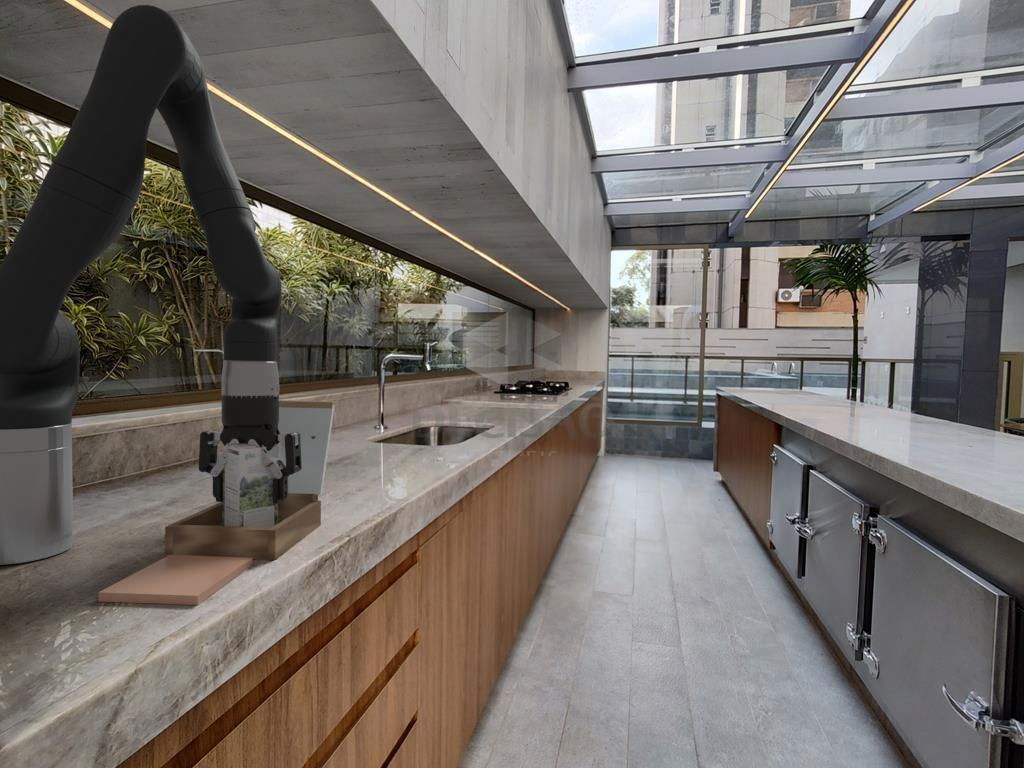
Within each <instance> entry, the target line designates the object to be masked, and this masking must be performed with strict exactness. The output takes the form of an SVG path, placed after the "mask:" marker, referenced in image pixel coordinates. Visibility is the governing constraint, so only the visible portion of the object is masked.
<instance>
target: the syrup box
mask: <svg viewBox="0 0 1024 768" xmlns="http://www.w3.org/2000/svg"><path fill="white" fill-rule="evenodd" d="M222 444H223V443H222ZM226 444H227V445H226V446H224V444H223V445H222V453H223V452H224V451H225V449H226V448H227V447H228V444H229V443H226ZM230 445H231V446H230V447H229V448H228V461H227V463H226V465H225V467H224V470H223V504H222V526H234V527H265V528H272V527H274V526H275V525H277V524H278V504H273V479H275V476H274V475H273V474H272V472H271V471H270V470H269V468H267V467H265V466H264V464H263V463H262V462H261V460H260V459H261V448H260V447H258V448H257V447H256V446H250V445H248V444H247V443H241V444H230ZM262 446H263V445H262ZM262 448H263V449H265V450H266V447H264V446H263V447H262ZM266 452H267V453H268V454H269V456H270V457H272V458H273V457H277V458H279V445H278V444H275V445H274V446H273V448H272V449H271V450H270V451H267V450H266ZM276 463H277V464H278V466H279V461H277V462H276Z"/></svg>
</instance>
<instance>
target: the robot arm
mask: <svg viewBox="0 0 1024 768" xmlns="http://www.w3.org/2000/svg"><path fill="white" fill-rule="evenodd" d="M99 57H100V58H99V60H98V62H97V66H96V69H95V73H94V75H93V78H92V80H91V83H90V86H89V89H88V91H87V94H86V95H85V98H84V100H83V102H82V104H81V106H80V107H79V109H78V112H77V114H76V116H75V118H74V120H73V122H72V124H71V127H69V130H68V133H67V135H66V137H65V139H64V141H63V143H62V145H61V147H60V148H59V150H58V152H57V153H56V155H55V157H54V158H53V160H52V163H51V164H50V166H49V169H48V170H47V173H46V174H45V176H44V178H43V180H42V182H41V184H40V185H39V186H40V187H39V190H38V191H37V194H36V196H35V199H34V201H33V203H32V205H31V207H30V209H29V210H28V212H27V214H26V217H25V218H24V220H23V221H22V223H21V225H20V226H19V230H18V231H17V233H16V235H15V237H14V239H13V242H12V244H11V246H10V247H9V250H8V252H7V254H6V256H5V257H4V259H3V260H2V261H1V264H0V565H1V566H3V565H6V566H7V565H15V564H23V563H28V562H33V561H37V560H38V561H39V560H42V559H46V558H50V557H53V556H55V555H58V554H61V553H64V552H66V551H68V550H69V549H71V548H72V547H73V544H74V534H73V533H74V529H73V528H74V525H73V524H74V520H73V519H74V508H73V507H74V503H73V502H74V500H73V499H74V496H73V492H74V491H73V490H74V489H73V486H74V485H73V484H74V483H73V425H72V421H73V418H72V417H73V410H74V409H75V408H74V407H75V406H76V403H77V401H78V396H79V387H80V385H79V384H80V367H81V366H80V365H81V363H80V362H81V351H80V349H81V348H80V347H81V346H80V338H79V335H78V331H77V329H76V326H75V325H74V324H73V322H72V321H71V320H70V319H69V318H68V317H67V316H66V315H64V314H63V313H61V312H60V310H61V308H62V306H63V303H64V301H65V299H66V297H67V295H68V293H69V291H70V289H71V287H72V286H73V284H74V283H75V281H76V280H77V278H78V277H79V276H80V275H81V274H82V273H83V272H84V271H85V270H86V269H87V268H88V267H89V266H90V265H91V264H92V263H94V261H96V259H98V258H99V257H101V255H102V254H103V253H104V252H106V251H107V249H108V248H109V247H110V246H112V244H113V243H115V241H116V240H118V238H119V236H120V235H121V233H122V232H123V230H124V228H125V226H126V224H127V223H128V221H129V218H130V216H131V214H132V212H133V210H134V208H135V206H136V204H137V202H138V200H139V198H140V195H141V193H142V192H141V191H142V189H143V184H144V176H145V164H146V154H147V152H146V151H147V144H148V143H147V142H148V135H149V129H150V127H151V126H150V125H151V122H152V120H153V117H154V115H155V113H156V110H157V111H158V113H159V114H160V116H161V117H162V119H163V121H164V124H165V125H166V126H167V129H168V131H169V133H170V135H171V137H172V140H173V143H174V145H175V148H176V152H177V156H178V162H179V167H180V172H181V177H182V180H183V184H184V188H185V190H186V193H187V196H188V198H189V201H190V204H191V206H192V208H193V210H194V213H195V216H196V219H197V220H198V223H199V225H200V228H201V229H202V231H203V234H204V236H205V239H206V241H205V242H206V245H207V246H206V247H207V250H208V255H209V258H210V262H211V266H212V269H213V273H214V274H215V277H216V279H217V281H218V283H219V285H220V287H221V288H222V290H223V291H224V292H225V293H226V294H227V295H228V296H229V297H231V299H232V301H231V314H230V315H231V317H230V320H229V322H227V324H226V325H225V327H224V331H223V362H222V363H223V364H222V365H223V367H222V371H221V424H222V426H223V427H222V431H218V430H217V429H210V430H204V431H202V432H201V433H200V435H199V448H198V449H199V450H198V451H199V453H198V471H199V472H200V473H207V474H210V476H211V477H212V496H213V498H214V499H215V502H217V503H220V502H223V470H224V467H225V465H226V463H227V461H228V448H229V447H230V446H231V445H230V444H241V443H247V444H248V445H250V446H256V447H257V448H258V447H260V448H261V459H260V460H261V462H262V463H263V464H264V466H265V467H267V468H269V470H270V471H271V472H272V474H273V475H274V476H275V479H273V504H279V503H281V502H283V501H284V499H285V498H287V495H288V477H289V475H292V474H294V473H296V472H298V471H300V470H301V469H302V463H301V442H300V434H299V433H298V432H292V433H285V434H280V432H279V430H278V422H279V400H280V388H281V387H280V374H279V368H278V335H277V331H278V324H279V318H280V312H281V311H280V310H281V304H282V280H281V277H280V274H279V272H278V270H277V269H276V267H275V266H274V265H272V264H271V263H270V262H269V261H268V260H267V258H266V256H265V254H264V251H263V249H262V247H261V244H260V241H259V239H258V236H257V234H256V229H257V225H256V222H255V217H254V215H253V213H252V212H253V211H252V210H251V207H250V204H249V202H248V199H247V197H246V195H245V191H244V190H243V187H242V185H241V182H240V180H239V177H238V175H237V173H236V171H235V169H234V166H233V164H232V162H231V160H230V158H229V155H228V153H227V150H226V147H225V146H224V143H223V140H222V137H221V134H220V131H219V128H218V125H217V123H216V118H215V114H214V111H213V107H212V101H211V98H210V93H209V87H208V82H207V79H206V78H207V77H206V73H205V68H204V64H203V62H202V59H201V58H200V55H199V54H198V52H197V50H196V49H195V47H194V45H193V43H192V42H191V40H190V38H189V36H188V35H187V33H186V32H185V30H184V29H183V27H182V26H181V25H180V23H179V22H178V21H177V19H175V17H173V16H172V15H171V14H170V13H169V12H167V11H166V10H164V9H163V8H159V7H157V6H155V5H149V4H138V5H134V6H131V7H129V8H127V9H125V10H124V11H122V12H121V13H120V14H119V15H118V16H117V17H116V18H115V20H114V22H113V23H112V25H111V27H110V28H109V31H108V33H107V37H106V39H105V42H104V45H103V47H102V50H101V54H100V56H99ZM279 442H281V443H282V446H283V447H284V448H285V456H286V464H285V463H284V461H283V457H282V456H281V454H280V453H279V458H277V457H273V458H272V457H270V456H269V454H268V453H267V452H266V450H267V451H270V450H271V449H272V448H273V446H274V445H275V444H278V443H279ZM220 443H221V444H224V446H226V445H227V444H226V443H229V444H228V447H227V448H226V449H225V451H224V452H223V451H222V454H221V455H220V456H219V457H218V446H219V445H220ZM262 445H263V446H264V447H266V450H265V449H263V448H262V447H263V446H262ZM277 461H279V466H278V464H277V463H276V462H277Z"/></svg>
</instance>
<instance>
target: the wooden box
mask: <svg viewBox="0 0 1024 768" xmlns="http://www.w3.org/2000/svg"><path fill="white" fill-rule="evenodd" d="M311 437H312V439H314V438H315V436H311ZM222 504H223V502H217V503H215V504H213V505H211V506H209V507H207V508H204V509H202V510H200V511H198V512H195V513H193V514H191V515H189V516H186V517H184V518H182V519H179V520H177V521H175V522H172V523H171V524H168V525H167V526H165V527H164V532H165V533H164V537H165V539H164V543H165V544H164V545H165V546H164V548H165V549H164V555H165V556H164V557H166V556H168V555H187V556H217V557H247V558H253V560H263V561H264V560H267V561H268V560H269V561H270V560H271V561H276V560H277V559H278V558H280V557H281V556H283V555H284V554H285V553H287V551H289V550H290V549H292V548H293V547H295V546H296V545H297V544H298V543H299V542H301V541H302V540H303V539H304V538H306V537H307V536H309V535H310V534H311V533H313V531H315V530H316V529H318V528H319V527H320V526H321V524H322V522H321V521H322V520H321V519H322V501H321V500H319V495H315V494H288V495H287V498H285V499H284V501H283V502H281V503H279V504H278V524H277V525H275V526H274V527H272V528H265V527H234V526H222Z"/></svg>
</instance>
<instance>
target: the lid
mask: <svg viewBox="0 0 1024 768" xmlns="http://www.w3.org/2000/svg"><path fill="white" fill-rule="evenodd" d="M335 409H336V401H331V400H330V401H326V400H325V401H321V400H320V401H319V400H280V399H279V422H278V430H279V432H280V434H285V433H292V432H298V433H299V434H300V442H301V463H302V469H301V470H300V471H298V472H296V473H294V474H292V475H289V477H288V494H315V495H318V496H320V495H323V491H324V489H323V488H324V481H325V476H326V475H325V474H326V470H327V464H328V457H329V456H328V455H329V454H328V453H329V448H330V441H331V434H332V433H331V432H332V426H333V420H334V412H335ZM311 436H315V438H314V439H312V437H311ZM278 445H279V453H280V454H281V456H282V457H283V461H284V463H285V464H286V456H285V448H284V447H283V446H282V443H281V442H279V443H278Z"/></svg>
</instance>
